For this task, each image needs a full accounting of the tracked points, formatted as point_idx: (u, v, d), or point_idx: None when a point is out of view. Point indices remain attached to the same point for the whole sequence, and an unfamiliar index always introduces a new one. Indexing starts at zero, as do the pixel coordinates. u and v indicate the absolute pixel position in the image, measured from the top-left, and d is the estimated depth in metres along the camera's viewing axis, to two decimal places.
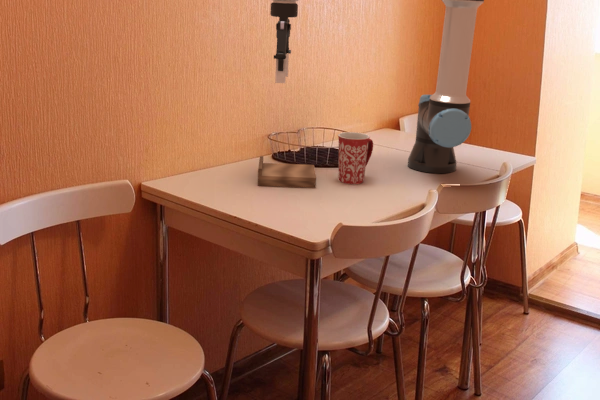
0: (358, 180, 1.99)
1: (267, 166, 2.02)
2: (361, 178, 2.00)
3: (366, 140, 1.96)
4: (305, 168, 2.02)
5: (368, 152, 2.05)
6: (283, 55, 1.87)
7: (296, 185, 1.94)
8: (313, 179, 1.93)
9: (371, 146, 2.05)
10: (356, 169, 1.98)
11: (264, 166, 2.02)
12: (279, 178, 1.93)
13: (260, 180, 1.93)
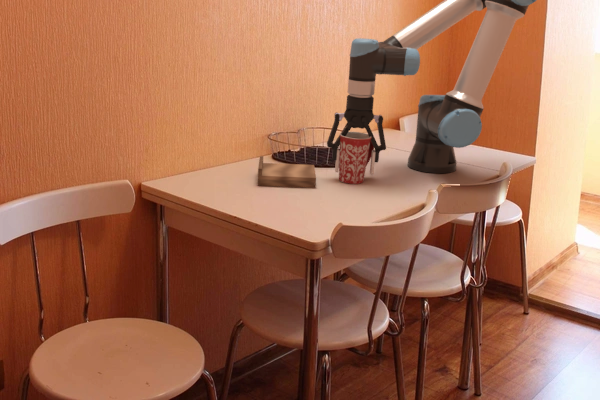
0: (358, 180, 1.99)
1: (267, 166, 2.02)
2: (361, 177, 2.00)
3: (368, 140, 1.96)
4: (305, 168, 2.02)
5: (369, 152, 2.05)
6: (327, 144, 2.00)
7: (296, 185, 1.94)
8: (313, 179, 1.93)
9: (372, 146, 2.05)
10: (357, 169, 1.98)
11: (264, 166, 2.02)
12: (279, 178, 1.93)
13: (260, 180, 1.93)
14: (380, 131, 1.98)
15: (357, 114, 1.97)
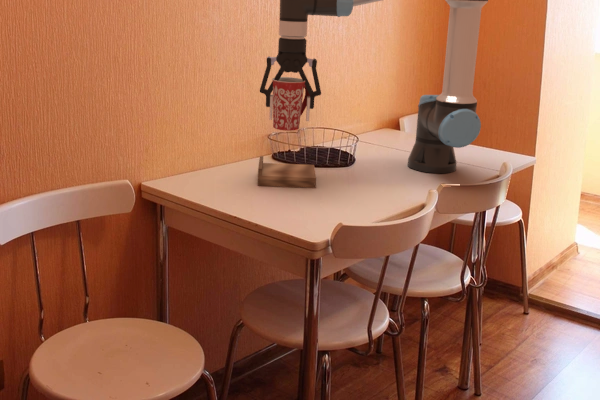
0: (292, 126, 1.91)
1: (267, 166, 2.02)
2: (295, 124, 1.92)
3: (301, 84, 1.88)
4: (305, 168, 2.02)
5: (305, 99, 1.97)
6: None
7: (296, 185, 1.94)
8: (313, 179, 1.93)
9: (308, 93, 1.97)
10: (290, 114, 1.90)
11: (264, 166, 2.02)
12: (279, 178, 1.93)
13: (260, 180, 1.93)
14: (314, 75, 1.90)
15: (289, 57, 1.89)
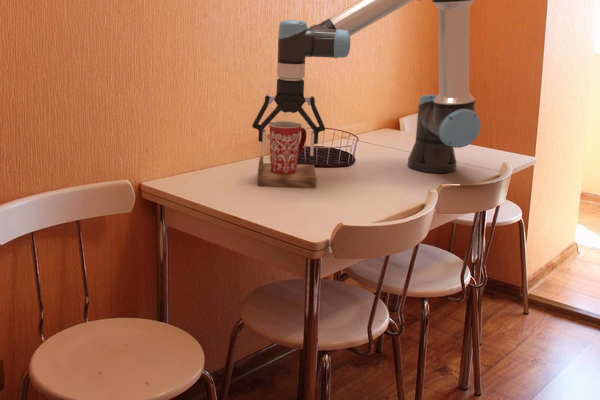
0: (290, 170, 1.95)
1: (267, 166, 2.02)
2: (293, 167, 1.96)
3: (297, 129, 1.92)
4: (305, 168, 2.02)
5: (301, 141, 2.01)
6: None
7: (296, 185, 1.94)
8: (313, 179, 1.93)
9: (304, 135, 2.00)
10: (287, 158, 1.94)
11: (264, 166, 2.02)
12: (279, 178, 1.93)
13: (260, 180, 1.93)
14: (315, 113, 1.93)
15: (288, 100, 1.92)
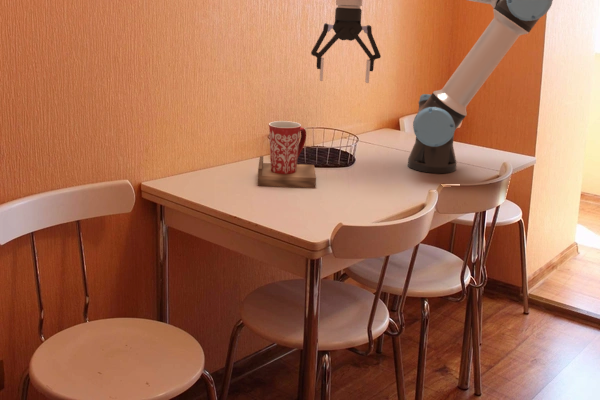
0: (290, 170, 1.95)
1: (267, 166, 2.02)
2: (293, 167, 1.96)
3: (297, 129, 1.92)
4: (305, 168, 2.02)
5: (301, 141, 2.01)
6: None
7: (296, 185, 1.94)
8: (313, 179, 1.93)
9: (304, 135, 2.00)
10: (287, 158, 1.94)
11: (264, 166, 2.02)
12: (279, 178, 1.93)
13: (260, 180, 1.93)
14: (371, 40, 2.03)
15: (346, 28, 2.01)
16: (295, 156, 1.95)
